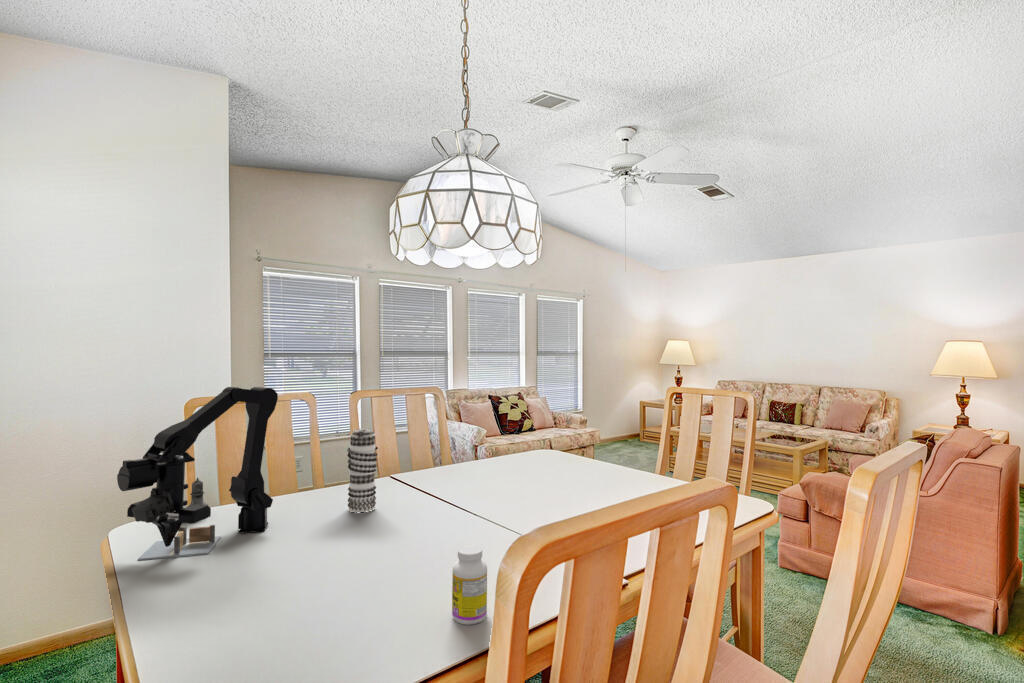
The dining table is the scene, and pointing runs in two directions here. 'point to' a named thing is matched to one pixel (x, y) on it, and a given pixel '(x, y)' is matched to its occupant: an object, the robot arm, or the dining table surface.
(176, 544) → the fence panel
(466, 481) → the dining table surface
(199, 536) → the fixed fence
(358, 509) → the decorative candle
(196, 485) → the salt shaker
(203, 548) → the card
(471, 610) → the supplement bottle
